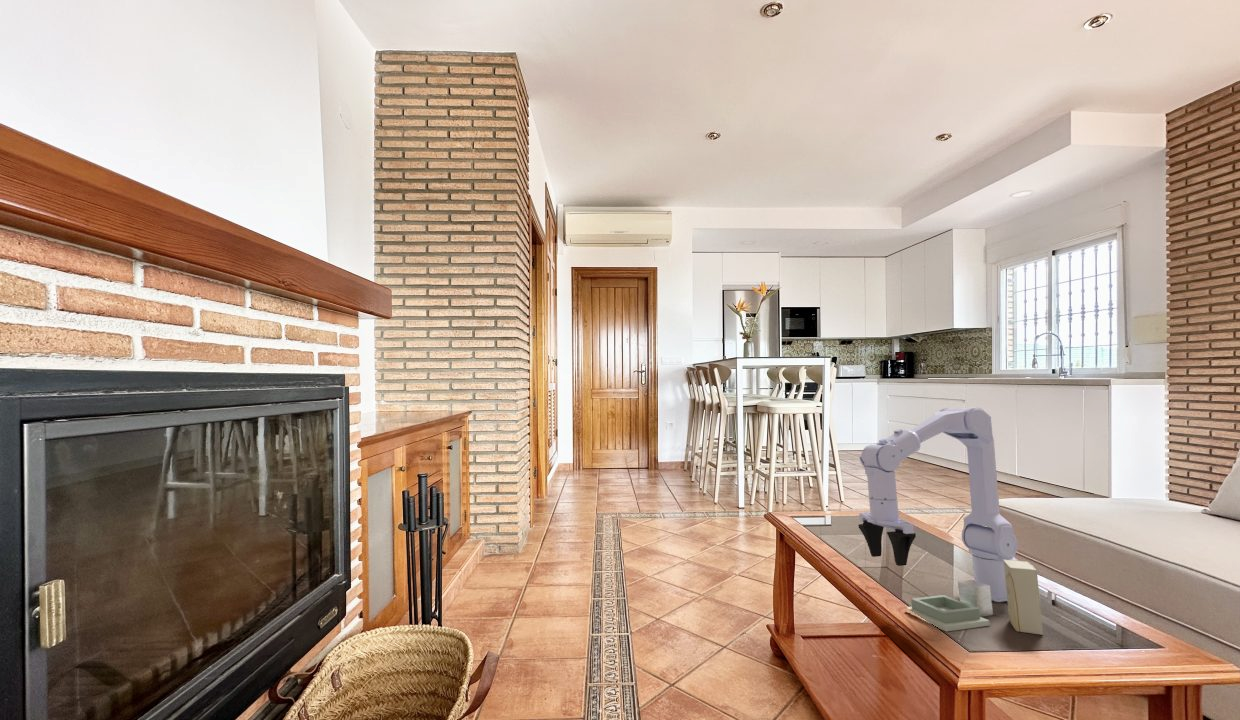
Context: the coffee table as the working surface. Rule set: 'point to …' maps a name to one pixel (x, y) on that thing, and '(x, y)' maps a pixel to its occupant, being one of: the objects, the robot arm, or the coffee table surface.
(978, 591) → the aluminium block
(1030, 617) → the skincare box
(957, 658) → the coffee table surface
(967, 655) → the coffee table surface
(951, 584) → the coffee table surface
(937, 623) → the tray
